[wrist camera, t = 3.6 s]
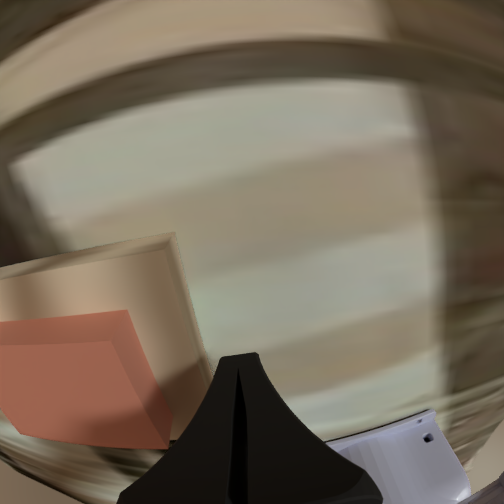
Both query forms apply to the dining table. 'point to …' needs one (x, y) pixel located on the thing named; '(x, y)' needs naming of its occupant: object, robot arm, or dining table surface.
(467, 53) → the dining table surface
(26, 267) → the block
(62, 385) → the pink rubber eraser
